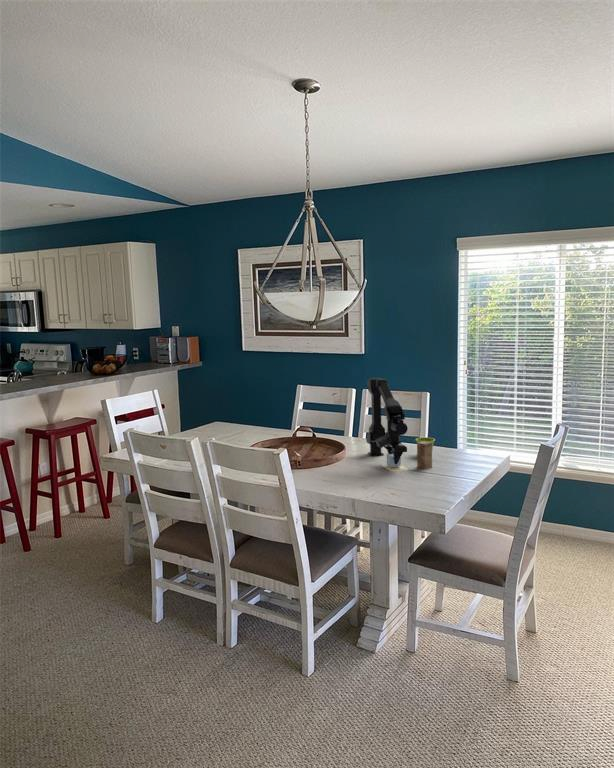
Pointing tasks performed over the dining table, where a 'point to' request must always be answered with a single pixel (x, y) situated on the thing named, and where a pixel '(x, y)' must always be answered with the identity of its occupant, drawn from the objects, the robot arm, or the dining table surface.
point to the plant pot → (426, 440)
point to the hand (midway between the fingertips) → (393, 462)
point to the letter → (395, 468)
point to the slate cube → (392, 461)
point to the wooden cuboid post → (424, 455)
